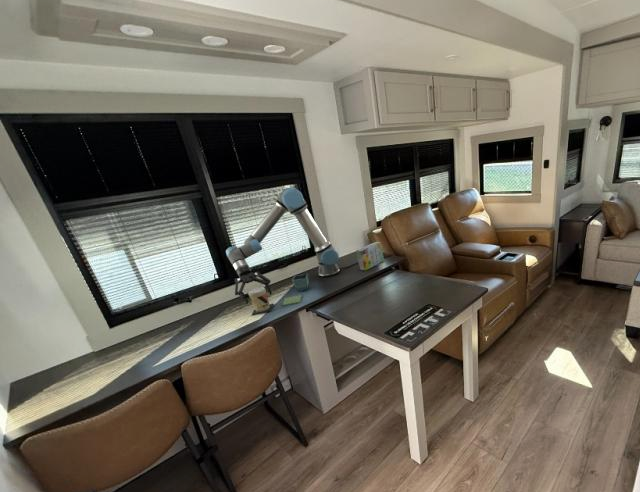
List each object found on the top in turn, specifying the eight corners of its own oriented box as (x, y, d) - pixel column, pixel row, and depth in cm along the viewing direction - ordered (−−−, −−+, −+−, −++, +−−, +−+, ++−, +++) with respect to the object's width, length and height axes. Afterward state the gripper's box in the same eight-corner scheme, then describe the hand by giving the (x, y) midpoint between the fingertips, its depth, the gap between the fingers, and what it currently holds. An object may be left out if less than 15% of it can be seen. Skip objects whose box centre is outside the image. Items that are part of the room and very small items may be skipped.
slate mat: (273, 304, 188) (273, 303, 188) (270, 311, 179) (269, 310, 178) (256, 308, 187) (256, 306, 186) (252, 315, 178) (251, 314, 177)
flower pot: (311, 285, 209) (307, 273, 205) (309, 290, 201) (306, 277, 197) (297, 288, 208) (294, 275, 205) (295, 293, 200) (292, 280, 197)
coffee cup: (265, 312, 177) (258, 293, 173) (250, 312, 179) (244, 293, 175) (274, 304, 186) (268, 286, 181) (260, 305, 188) (254, 286, 183)
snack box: (379, 260, 240) (375, 241, 234) (384, 261, 236) (381, 241, 231) (359, 270, 225) (355, 250, 219) (365, 271, 222) (361, 250, 216)
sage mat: (301, 296, 194) (301, 295, 194) (299, 302, 185) (299, 301, 185) (285, 299, 193) (284, 298, 193) (282, 306, 184) (282, 304, 184)
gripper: (263, 266, 195) (279, 293, 190) (220, 280, 181) (237, 309, 176) (263, 259, 189) (280, 287, 184) (219, 272, 175) (236, 303, 170)
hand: (259, 298), depth 180 cm, fingers open, 13 cm apart
